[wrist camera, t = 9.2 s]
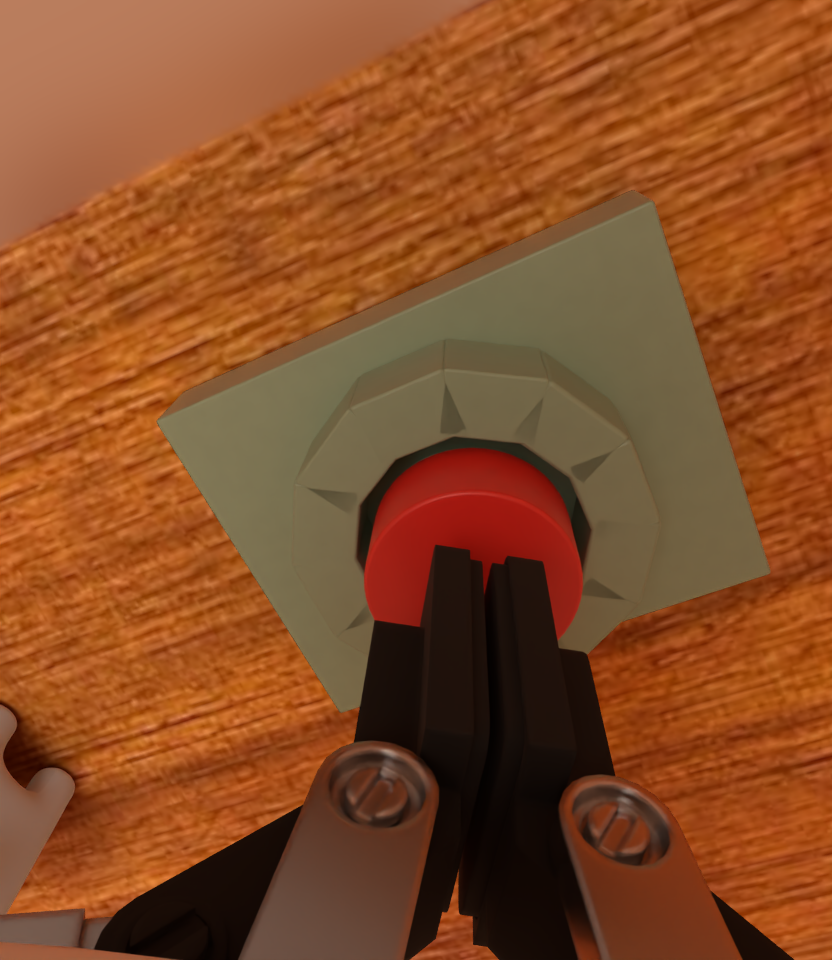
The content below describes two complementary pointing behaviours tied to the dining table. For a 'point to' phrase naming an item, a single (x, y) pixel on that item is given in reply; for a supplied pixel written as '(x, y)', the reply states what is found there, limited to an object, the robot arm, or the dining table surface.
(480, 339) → the control block
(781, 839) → the dining table surface
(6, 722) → the figurine
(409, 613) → the button
